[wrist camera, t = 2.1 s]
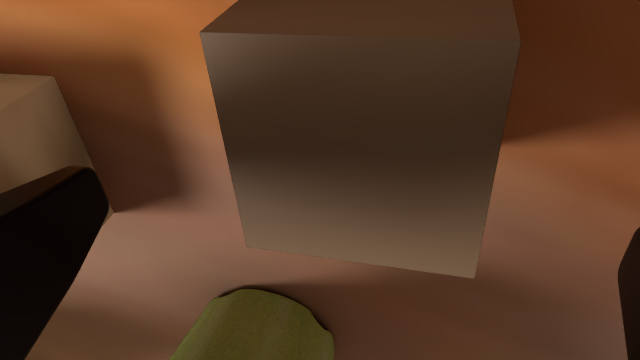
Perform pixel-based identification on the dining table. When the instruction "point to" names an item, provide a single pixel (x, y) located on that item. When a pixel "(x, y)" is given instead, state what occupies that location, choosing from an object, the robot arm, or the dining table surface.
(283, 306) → the plant pot
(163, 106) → the dining table surface
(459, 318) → the dining table surface
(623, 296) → the robot arm
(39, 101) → the oak block
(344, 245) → the walnut block
